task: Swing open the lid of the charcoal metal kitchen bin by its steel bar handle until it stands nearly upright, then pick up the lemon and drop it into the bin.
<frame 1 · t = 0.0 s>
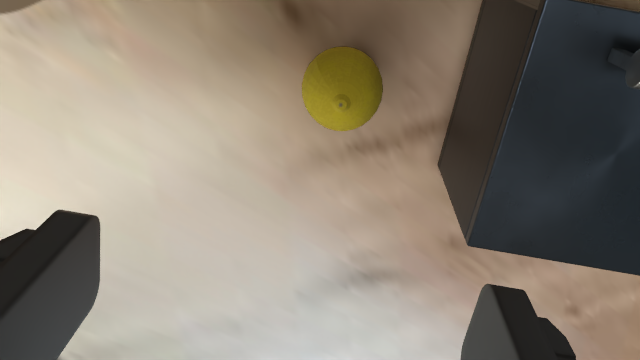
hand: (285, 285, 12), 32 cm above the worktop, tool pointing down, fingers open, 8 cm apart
lemon: (343, 74, 43), on the worktop
bin lid: (631, 164, 29), point 14 cm above the worktop, hinge at 0.0°
bin: (542, 97, 42), on the worktop
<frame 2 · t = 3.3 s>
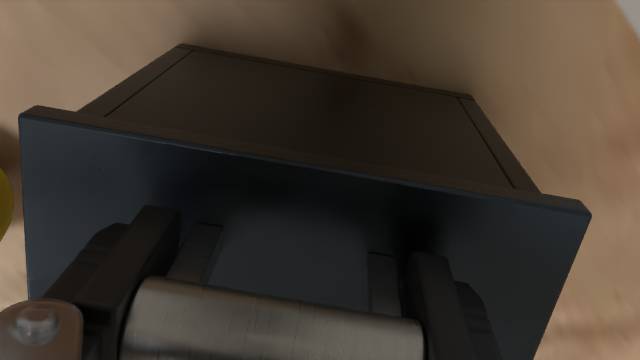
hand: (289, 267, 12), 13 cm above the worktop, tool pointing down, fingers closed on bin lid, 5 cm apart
bin: (302, 209, 27), on the worktop
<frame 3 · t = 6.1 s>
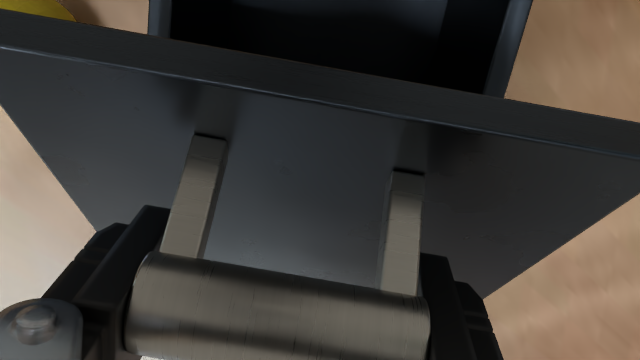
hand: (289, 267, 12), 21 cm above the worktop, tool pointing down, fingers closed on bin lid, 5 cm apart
lemon: (60, 36, 32), on the worktop
bin lid: (285, 301, 15), point 19 cm above the worktop, hinge at 41.8°, touching gripper
bin: (327, 66, 31), on the worktop
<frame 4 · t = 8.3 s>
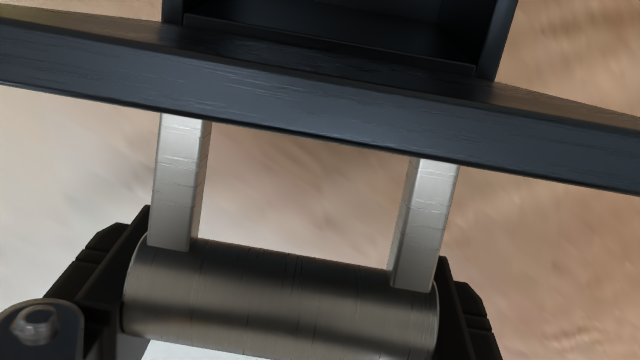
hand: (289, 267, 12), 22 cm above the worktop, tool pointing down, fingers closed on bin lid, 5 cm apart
bin lid: (309, 157, 14), point 20 cm above the worktop, hinge at 80.3°, touching gripper
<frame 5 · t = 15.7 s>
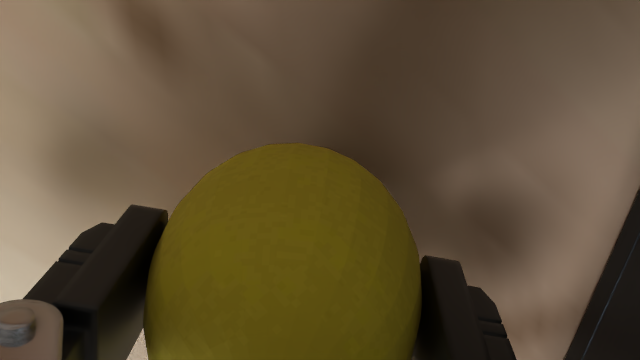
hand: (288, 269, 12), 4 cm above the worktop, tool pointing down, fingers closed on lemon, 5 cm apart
lemon: (303, 195, 16), on the worktop, touching gripper
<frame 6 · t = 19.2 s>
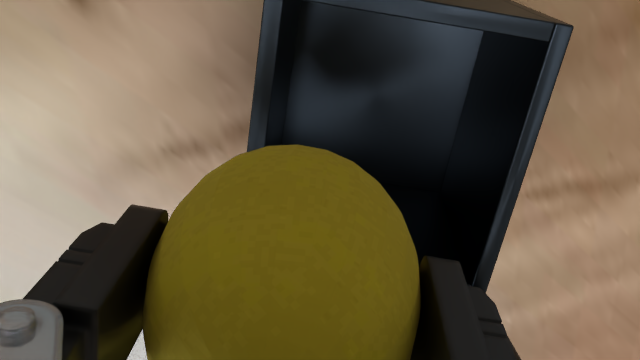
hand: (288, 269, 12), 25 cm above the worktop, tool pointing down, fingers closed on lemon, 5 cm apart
lemon: (302, 196, 16), point 21 cm above the worktop, touching gripper
bin: (376, 89, 36), on the worktop
when the fingers open (13 cm above the worktop, at t = 23.0 s): lemon drops 8 cm, resting on bin.
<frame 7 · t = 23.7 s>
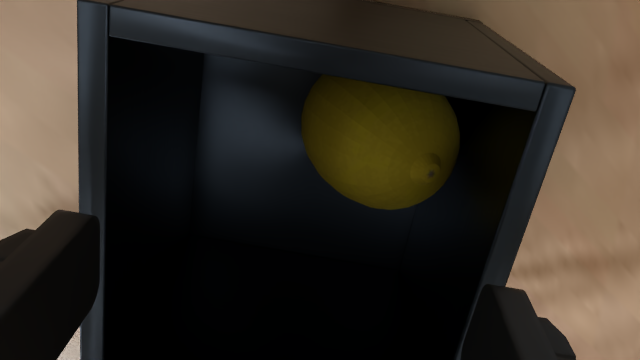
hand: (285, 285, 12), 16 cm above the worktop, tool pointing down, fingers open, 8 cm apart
lemon: (332, 97, 25), point 1 cm above the worktop, touching bin
bin: (314, 139, 27), on the worktop
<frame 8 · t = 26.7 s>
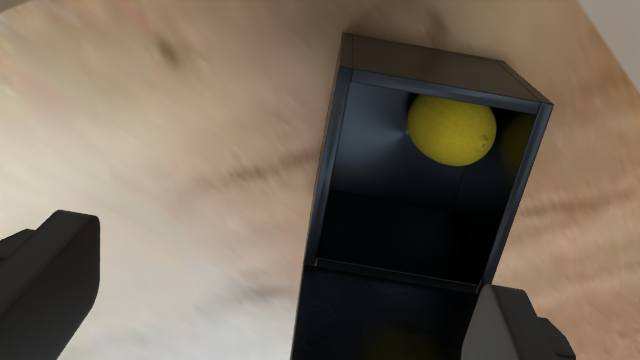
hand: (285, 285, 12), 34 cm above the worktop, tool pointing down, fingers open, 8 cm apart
lemon: (418, 105, 44), point 1 cm above the worktop, touching bin
bin: (403, 129, 46), on the worktop
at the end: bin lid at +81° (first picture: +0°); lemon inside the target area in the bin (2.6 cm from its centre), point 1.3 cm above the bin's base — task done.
